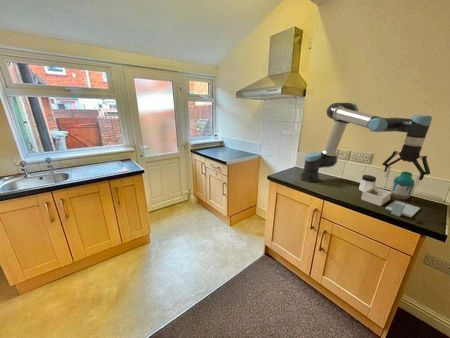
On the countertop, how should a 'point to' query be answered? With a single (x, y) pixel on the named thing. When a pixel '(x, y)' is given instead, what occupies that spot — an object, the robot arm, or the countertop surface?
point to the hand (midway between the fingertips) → (400, 181)
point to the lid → (402, 209)
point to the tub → (376, 196)
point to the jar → (367, 182)
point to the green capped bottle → (402, 186)
